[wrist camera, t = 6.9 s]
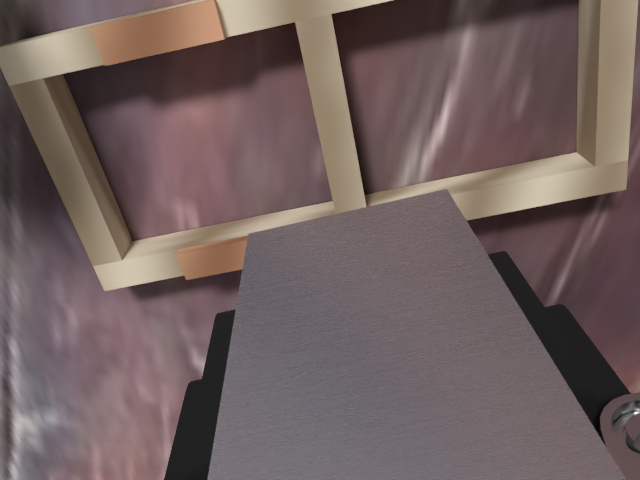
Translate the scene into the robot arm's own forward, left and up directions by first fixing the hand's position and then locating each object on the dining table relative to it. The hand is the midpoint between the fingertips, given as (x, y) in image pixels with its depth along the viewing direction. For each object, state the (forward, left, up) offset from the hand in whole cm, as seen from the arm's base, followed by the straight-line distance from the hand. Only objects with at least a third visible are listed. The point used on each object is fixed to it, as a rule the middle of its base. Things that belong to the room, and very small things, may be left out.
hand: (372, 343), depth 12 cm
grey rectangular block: (0, 0, -2) cm, 2 cm away
